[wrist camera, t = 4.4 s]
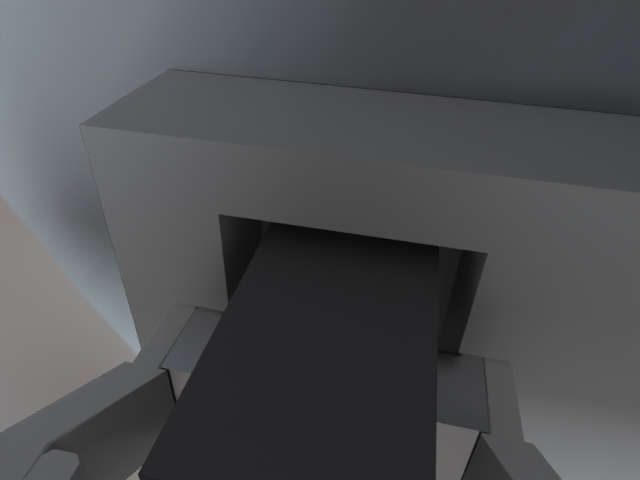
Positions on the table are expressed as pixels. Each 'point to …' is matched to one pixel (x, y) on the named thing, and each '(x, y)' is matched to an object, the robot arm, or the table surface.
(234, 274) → the grey board with holes
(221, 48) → the table surface
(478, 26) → the table surface
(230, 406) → the dark rectangular block
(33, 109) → the table surface
